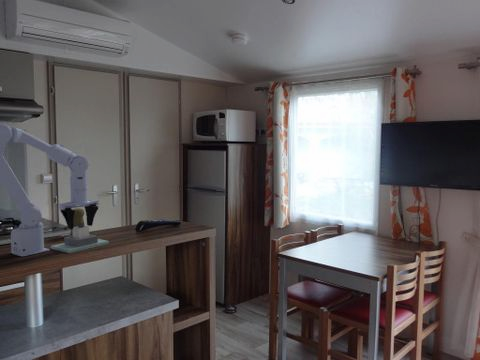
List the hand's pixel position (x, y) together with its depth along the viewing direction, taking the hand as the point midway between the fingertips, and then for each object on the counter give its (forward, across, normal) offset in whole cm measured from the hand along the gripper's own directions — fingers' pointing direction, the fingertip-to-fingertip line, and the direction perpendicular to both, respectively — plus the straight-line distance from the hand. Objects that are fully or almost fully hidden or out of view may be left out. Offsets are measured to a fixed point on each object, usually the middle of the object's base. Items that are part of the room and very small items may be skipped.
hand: (80, 227), depth 144 cm
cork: (+7, +10, +17) cm, 21 cm away
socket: (+7, 0, 0) cm, 7 cm away
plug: (+6, 0, 0) cm, 6 cm away
